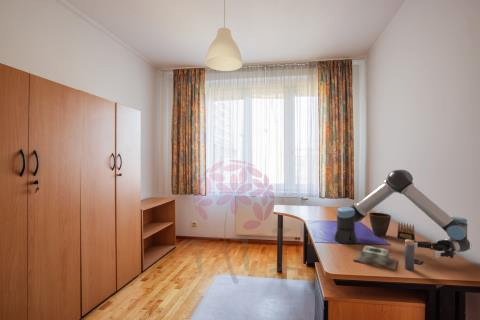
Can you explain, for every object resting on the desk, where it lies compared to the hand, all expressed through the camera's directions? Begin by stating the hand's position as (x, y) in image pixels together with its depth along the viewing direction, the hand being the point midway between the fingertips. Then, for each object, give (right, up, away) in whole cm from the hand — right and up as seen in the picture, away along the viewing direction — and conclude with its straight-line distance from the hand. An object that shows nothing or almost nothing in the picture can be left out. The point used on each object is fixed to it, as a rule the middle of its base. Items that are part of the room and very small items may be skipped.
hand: (421, 250), depth 131 cm
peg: (-8, -9, -3) cm, 12 cm away
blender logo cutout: (+2, -10, +11) cm, 14 cm away
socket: (-21, -9, +8) cm, 24 cm away
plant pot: (+11, -10, +59) cm, 60 cm away
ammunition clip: (+25, -10, +49) cm, 55 cm away
